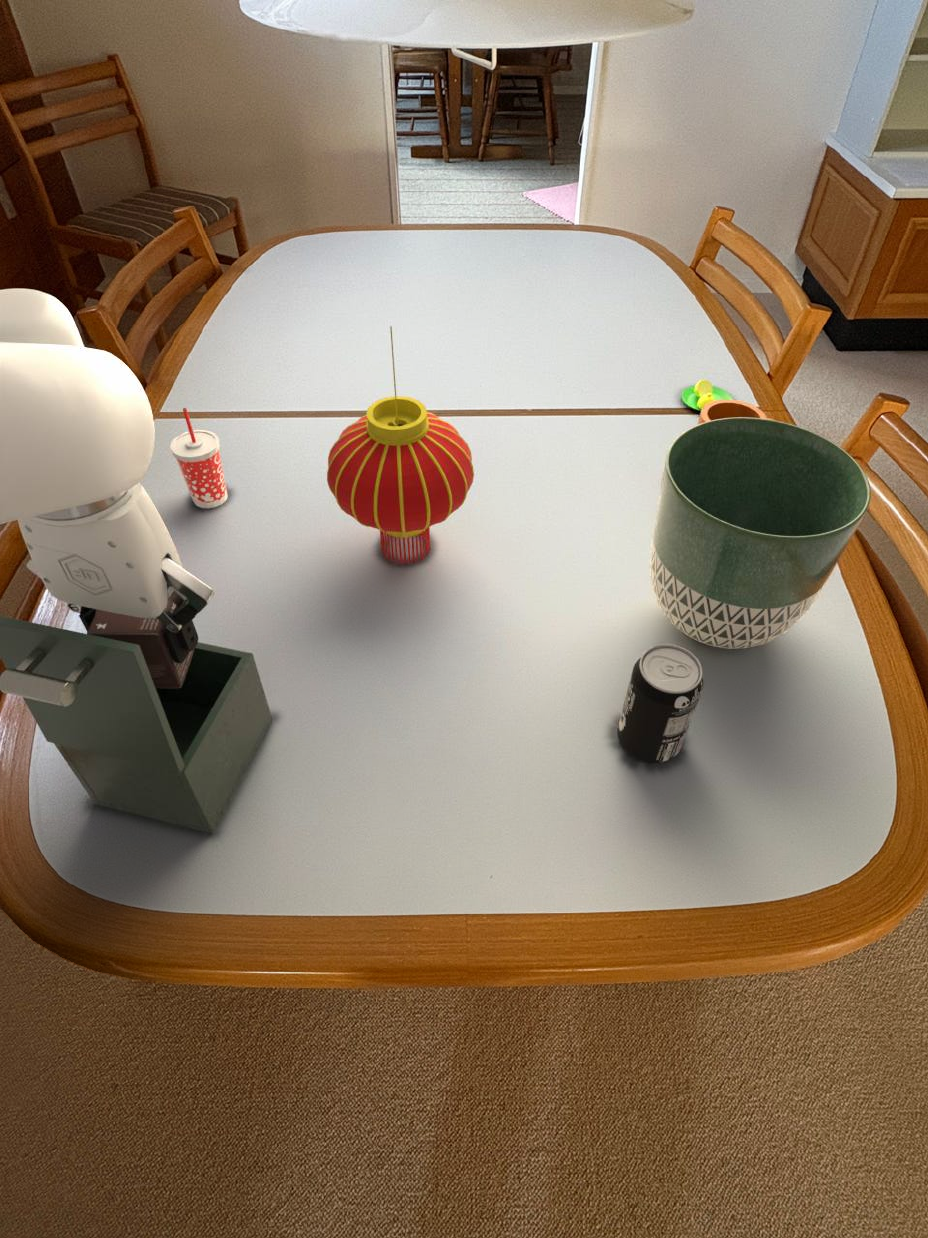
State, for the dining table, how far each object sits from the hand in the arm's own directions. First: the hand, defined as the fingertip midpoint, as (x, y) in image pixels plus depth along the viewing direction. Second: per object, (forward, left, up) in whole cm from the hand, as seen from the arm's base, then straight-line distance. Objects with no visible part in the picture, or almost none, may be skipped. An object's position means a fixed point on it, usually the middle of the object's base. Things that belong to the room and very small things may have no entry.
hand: (146, 641), depth 68 cm
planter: (+32, -51, -17) cm, 62 cm away
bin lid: (-7, 0, +2) cm, 8 cm away
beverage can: (+13, -45, -17) cm, 50 cm away
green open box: (-1, 0, -17) cm, 17 cm away
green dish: (+80, -48, -17) cm, 94 cm away
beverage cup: (+38, +17, -17) cm, 44 cm away
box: (0, 0, -3) cm, 3 cm away
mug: (+62, -52, -17) cm, 82 cm away
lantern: (+35, -12, -17) cm, 40 cm away
